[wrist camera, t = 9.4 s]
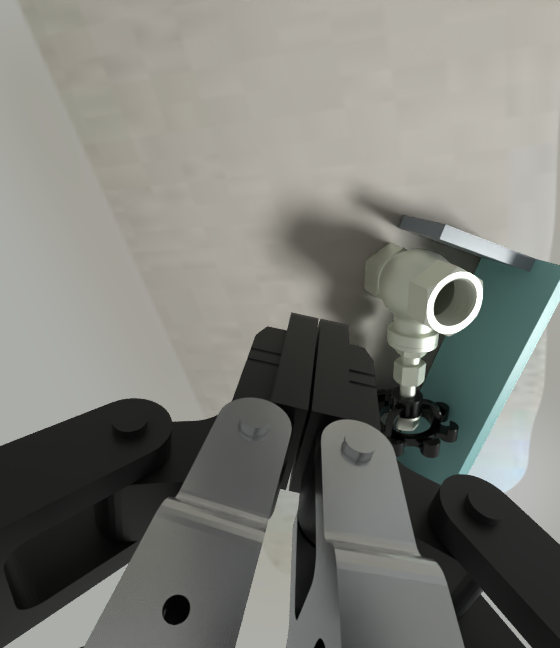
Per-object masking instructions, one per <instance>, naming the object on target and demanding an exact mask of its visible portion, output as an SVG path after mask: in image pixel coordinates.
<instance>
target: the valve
mask: <svg viewBox="0 0 560 648" xmlns="http://www.w3.org/2000/svg"><path fill="white" fill-rule="evenodd" d="M365 290H366V291H368V292H369V293H371V294H373V295H374V296H376V297H378V298H380V299H382V301H383V303H384V304H385V306H386V307H387V308H388V310H389V311H390V312H391V313H393V314H394V321H393V322H391V323H390V324H389V325H388V333H387V342H388V344H389V345H390V346H391V347H393V348H394V349H395V351H396V352H397V353H398V354H399V355H401V356H400V357H399V358H397V359H396V360H395V361H394V373H393V378H394V380H395V381H396V382H397V383H398V384H400V387H397V388H391V389H388V390H379V391H377V398H378V407H379V417H381V416H382V415H383V414H385V413H387V412H390V413H389V415H388V417H387V420H386V425H384V424H383V423H382V422H381V420H380V426H381V433H382V434H383V435H384V436H385V437H386V438H387V439H388V440H389V442H390V443H391V445H392V447H393V449H394V452H395V455H396V457H400V456H402V455H403V453H404V447H407V446H410V447H417V448H419V449H420V452H421V454H422V455H423V456H425V457H427V458H436V457H438V455H439V452H440V444H441V441H440V439H441V440H442V441H444V442H448V443H453V442H455V441H456V440H457V437H458V431H459V426H458V424H457V423H455V422H453V421H451V420H450V422H449V426H445V425H442V424H441V422H446V421H447V420H448V416H449V409H450V408H449V406H448V405H447V404H446V403H443V402H433V401H431V400H428V399H423V394H422V393H421V392H420V391H419V390H417V389H416V386H419V385H421V384H422V383H423V381H424V379H425V369H426V362H424V361H423V360H422V359H420V358H421V357H423V356H424V355H425V354H426V353H427V352H430V351H432V350H434V349H435V348H436V347H437V346H438V338H439V333H442V334H444V335H446V336H448V337H449V336H451V335H453V334H455V333H457V332H459V331H460V330H462V329H463V328H465V327H466V326H467V325H468V324H469V323H471V322H472V321H473V320H474V319H475V318H476V317H477V315H478V313H479V310H480V307H481V303H482V297H483V281H482V280H481V279H479V278H478V277H476V276H474V275H473V274H471V273H469V272H467V271H466V270H464V269H462V268H460V267H458V266H455V265H452V264H450V263H449V262H448V261H447V260H446V259H445V258H444V257H442V256H441V255H439V254H437V253H435V252H433V251H430V250H425V249H411V250H407V249H405V248H403V247H400V246H397V245H395V244H392V243H389V244H387V245H386V246H385V247H383V248H382V249H381V250H379V251H378V252H376V253H375V254H374V255H372V256H371V257H370V258H368V259H367V260H366V263H365ZM421 416H422V417H424V418H425V419H426V420H427V421H428V422H429V424H430V425H431V426H430V428H429V429H428V430H426V431H424V432H421V433H416V434H406V433H400V432H397V431H396V428H397V429H399V430H403V431H413V430H414V429H415V428H416V427H417V426H418V425H419V419H420V418H421Z"/></svg>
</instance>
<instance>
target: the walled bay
mask: <svg viewBox="0 0 560 648" xmlns="http://www.w3.org/2000/svg"><path fill="white" fill-rule="evenodd" d="M399 228H401V229H403V230H406V231H409V232H412V233H415V234H417V235H420V236H423V237H426V238H428V239H431V240H434V241H437V242H440V243H442V244H445V245H448V246H451V247H454V248H456V249H459V250H462V251H465V252H467V253H470V254H473V255H476V256H479V257H481V260H480V262H479V264H478V266H477V269H476V271H475V273H474V276H476V277H478V278H479V279H481V280H482V281H483V297H482V303H481V307H480V310H479V313H478V315H477V317H476V318H475V319H474V320H473V321H472V322H471V323H469V324H468V325H467V326H466V327H465V328H463V329H462V330H460V331H459V332H457V333H455V334H453V335H451V336H449V337H448V336H445V338H444V340H443V342H442V344H441V347H440V349H439V351H438V353H437V355H436V357H435V360H434V362H433V364H432V366H431V368H430V370H429V373H428V375H427V377H426V379H425V381H424V383H423V386H422V388H421V390H420V392H421V393H422V394H423V399H428V400H431V401H433V402H443V403H446V404H447V405H448V406H449V408H450V409H449V416H448V420H447V421H446V422H441V424H442V425H445V426H449V422H450V420H451V421H453V422H455V423H457V424H458V426H459V431H458V437H457V440H456V441H455V442H453V443H448V442H444V441H442V440H441V439H440V441H441V444H440V452H439V455H438V457H436V458H427V457H425V456H423V455H422V454H421V452H420V449H419V448H417V447H410V446H407V447H404V453H403V455H402V456H400V457H396V459H397V460H398V461H399V462H400V463H402V464H403V465H404V466H406V467H407V468H409V469H410V470H412V471H414V472H416V473H418V474H420V475H422V476H424V477H426V478H428V479H430V480H432V481H434V482H436V483H438V484H440V485H441V484H442V483H443V481H444V480H445V479H446V478H448V477H449V476H452V475H457V474H466V475H468V473H469V471H470V469H471V467H472V465H473V463H474V461H475V459H476V458H477V456H478V454H479V452H480V450H481V448H482V446H483V444H484V442H485V441H486V439H487V437H488V435H489V433H490V431H491V429H492V427H493V426H494V424H495V422H496V420H497V418H498V416H499V414H500V412H501V410H502V409H503V407H504V405H505V403H506V401H507V399H508V397H509V395H510V393H511V392H512V390H513V388H514V386H515V384H516V382H517V380H518V378H519V376H520V375H521V373H522V371H523V369H524V367H525V365H526V363H527V361H528V360H529V358H530V356H531V354H532V352H533V350H534V348H535V346H536V344H537V343H538V341H539V339H540V337H541V335H542V333H543V331H544V329H545V327H546V326H547V324H548V322H549V320H550V318H551V316H552V314H553V312H554V310H555V308H556V307H557V305H558V303H559V301H560V265H557V264H553V263H549V262H545V261H541V260H537V259H534V258H532V257H529V256H527V255H524V254H521V253H519V252H516V251H514V250H511V249H508V248H506V247H503V246H501V245H498V244H495V243H493V242H490V241H488V240H485V239H482V238H480V237H477V236H475V235H472V234H469V233H467V232H464V231H462V230H459V229H456V228H454V227H451V226H449V225H446V224H441V223H437V222H432V221H428V220H423V219H419V218H414V217H409V216H405V215H404V216H403V218H402V221H401V223H400V226H399ZM430 426H431V425H430V424H429V422H428V421H427V420H426V419H425V418H424V417H422V416H421V418H420V419H419V425H418V426H417V427H416V428H415V429H414V430H413V431H403V430H402V431H401V433H406V434H416V433H421V432H424V431H426V430H428V429H429V428H430Z"/></svg>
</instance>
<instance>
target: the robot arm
mask: <svg viewBox="0 0 560 648" xmlns="http://www.w3.org/2000/svg"><path fill="white" fill-rule="evenodd" d="M291 469H292V471H291ZM290 473H291V478H290V486H289V491H293V492H297V493H300V497H299V506H298V511H297V514H296V518H295V521H294V524H293V534H292V560H291V588H290V614H289V630H288V639H287V645H286V648H526V647H525V646H524V645H523V644H522V643H521V641H520V640H519V639H518V638H517V637H516V635H515V634H514V633H513V632H512V631H511V630H510V628H509V627H508V626H507V625H506V624H505V622H504V621H503V620H502V619H501V618H500V617H499V615H498V614H497V613H496V612H495V611H494V610H493V608H492V607H491V606H490V605H489V604H488V602H487V601H486V600H485V599H484V598H483V597H482V595H481V592H483V591H484V592H485V593H486V594H487V596H488V597H489V598H490V599H491V600H492V601H493V603H494V604H495V605H496V606H497V607H498V609H499V610H500V611H501V612H502V613H503V614H504V615H505V617H506V618H507V619H508V620H509V621H510V622H511V624H512V625H513V626H514V627H515V628H516V629H517V631H518V632H519V633H520V634H521V635H522V636H523V638H524V639H525V640H526V641H527V642H528V643H529V645H530V646H531V647H532V648H560V544H558V543H557V542H556V541H555V540H554V539H553V538H552V537H551V536H550V535H549V534H548V533H547V532H545V531H544V530H543V529H542V528H541V527H540V526H539V525H538V524H537V523H536V522H535V521H534V520H532V519H531V518H530V517H529V516H528V515H527V514H526V513H525V512H524V511H523V510H521V508H520V507H518V506H517V505H516V504H515V503H514V502H513V501H512V500H511V499H510V498H509V497H508V496H507V495H505V494H504V493H503V492H502V491H501V490H500V489H498V488H497V487H495V486H494V485H492V484H490V483H489V482H487V481H485V480H483V479H480V478H478V477H475V476H471V475H466V474H457V475H452V476H449V477H448V478H446V479H445V480H444V481H443V483H442V484H441V485H440V484H438V483H436V482H434V481H432V480H430V479H428V478H426V477H424V476H422V475H420V474H418V473H416V472H414V471H412V470H410V469H409V468H407V467H406V466H404V465H403V464H402V463H400V462H399V461H398V460H397V459H396V455H395V452H394V449H393V447H392V445H391V443H390V442H389V440H388V439H387V438H386V437H385V436H384V435H383V434H382V433H381V426H380V417H379V407H378V398H377V389H376V379H375V370H374V361H373V360H372V358H371V357H370V355H369V354H368V352H367V351H366V349H365V348H363V347H359V346H354V345H350V344H349V334H348V325H347V324H342V323H338V322H333V321H328V320H324V319H320V321H319V325H318V318H314V317H310V316H305V315H301V314H296V313H292V312H291V316H290V321H289V325H288V329H287V331H286V330H282V329H277V328H273V327H268V326H267V327H266V328H265V329H263V330H262V331H261V332H259V333H258V334H257V335H256V336H255V339H254V341H253V344H252V347H251V350H250V353H249V355H248V359H247V361H246V364H245V366H244V369H243V372H242V375H241V378H240V380H239V383H238V386H237V389H236V391H235V394H234V397H233V400H232V402H230V403H228V404H227V405H225V406H224V407H223V408H222V409H221V411H220V412H219V414H218V415H216V416H214V417H212V418H209V419H205V420H200V421H181V422H172V420H171V417H170V415H169V413H168V412H167V411H166V410H165V409H164V408H163V407H162V406H161V405H159V404H157V403H155V402H153V401H150V400H145V399H137V398H135V399H134V398H131V399H123V400H118V401H116V402H112V403H110V404H107V405H104V406H102V407H99V408H97V409H94V410H91V411H89V412H86V413H84V414H81V415H79V416H76V417H74V418H71V419H68V420H66V421H63V422H61V423H58V424H56V425H53V426H51V427H48V428H45V429H43V430H40V431H38V432H35V433H33V434H30V435H27V436H25V437H23V438H20V439H17V440H15V441H12V442H10V443H7V444H5V445H2V446H0V648H3V647H4V646H6V645H7V644H9V643H10V642H12V641H13V640H15V639H16V638H18V637H19V636H21V635H22V634H24V633H25V632H27V631H28V630H30V629H31V628H32V627H34V626H35V625H37V624H39V623H40V622H42V621H43V620H45V619H46V618H47V617H49V616H50V615H52V614H53V613H55V612H56V611H58V610H59V609H61V608H62V607H64V606H65V605H67V604H68V603H70V602H71V601H73V600H74V599H76V598H77V597H79V596H80V595H82V594H83V593H85V592H86V591H88V590H89V589H90V588H92V587H94V586H95V585H97V584H98V583H100V582H101V581H102V580H104V579H105V578H107V577H108V576H110V575H111V574H113V573H114V572H116V571H117V570H119V569H120V568H122V567H123V566H125V565H126V564H128V563H129V564H128V566H127V568H126V570H125V572H124V573H123V575H122V577H121V579H120V581H119V583H118V585H117V586H116V588H115V590H114V592H113V594H112V596H111V598H110V600H109V602H108V603H107V605H106V607H105V609H104V611H103V613H102V614H101V616H100V618H99V620H98V622H97V624H96V626H95V628H94V629H93V631H92V633H91V635H90V637H89V639H88V641H87V642H86V644H85V646H83V647H81V648H235V645H236V641H237V638H238V634H239V630H240V626H241V622H242V619H243V615H244V610H245V607H246V603H247V600H248V596H249V592H250V588H251V584H252V580H253V577H254V573H255V569H256V565H257V561H258V557H259V554H260V550H261V546H262V542H263V539H264V535H265V531H266V527H267V523H268V520H269V519H270V517H271V516H272V514H273V512H274V509H275V505H276V502H277V498H278V494H279V491H280V489H283V490H286V487H287V484H288V480H289V477H290Z"/></svg>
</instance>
